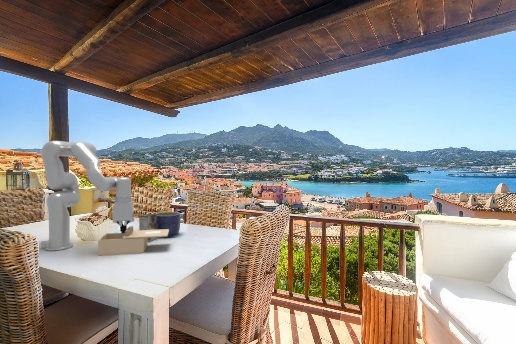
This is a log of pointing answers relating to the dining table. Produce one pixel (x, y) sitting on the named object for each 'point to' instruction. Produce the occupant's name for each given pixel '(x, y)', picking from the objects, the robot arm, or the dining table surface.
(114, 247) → the box
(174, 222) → the planter
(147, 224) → the coffee box
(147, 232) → the lid
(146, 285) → the dining table surface
